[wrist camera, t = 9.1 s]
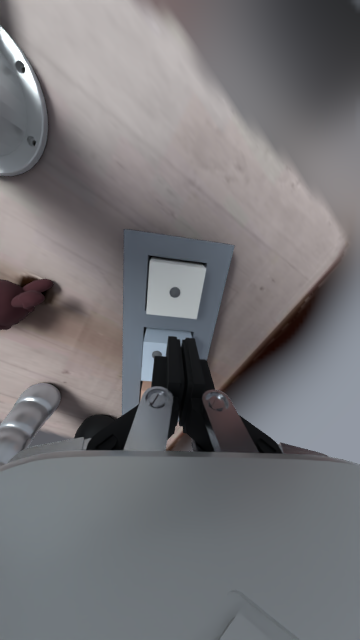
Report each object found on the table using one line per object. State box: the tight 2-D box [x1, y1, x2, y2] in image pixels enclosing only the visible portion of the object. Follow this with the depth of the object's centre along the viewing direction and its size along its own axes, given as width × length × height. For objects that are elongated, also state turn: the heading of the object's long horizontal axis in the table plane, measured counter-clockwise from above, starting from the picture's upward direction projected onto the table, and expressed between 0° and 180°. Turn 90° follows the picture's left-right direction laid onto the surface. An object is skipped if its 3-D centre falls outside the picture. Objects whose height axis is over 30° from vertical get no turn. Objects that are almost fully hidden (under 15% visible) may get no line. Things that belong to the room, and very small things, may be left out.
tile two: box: [141, 327, 192, 381], centre depth 30 cm, size 7×7×5 cm
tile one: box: [146, 256, 206, 319], centre depth 27 cm, size 7×7×5 cm
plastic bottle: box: [0, 383, 61, 466], centre depth 28 cm, size 6×7×20 cm
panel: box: [122, 229, 234, 421], centre depth 32 cm, size 34×14×3 cm, turn 172°
